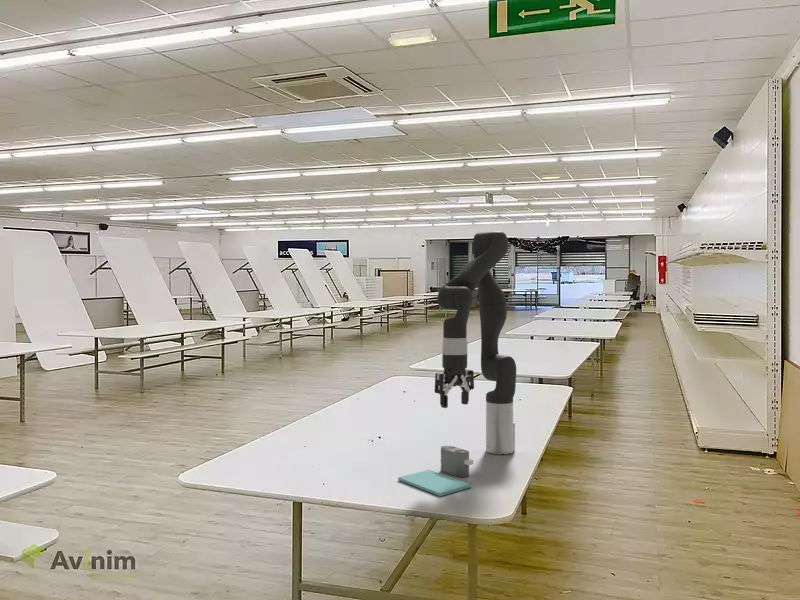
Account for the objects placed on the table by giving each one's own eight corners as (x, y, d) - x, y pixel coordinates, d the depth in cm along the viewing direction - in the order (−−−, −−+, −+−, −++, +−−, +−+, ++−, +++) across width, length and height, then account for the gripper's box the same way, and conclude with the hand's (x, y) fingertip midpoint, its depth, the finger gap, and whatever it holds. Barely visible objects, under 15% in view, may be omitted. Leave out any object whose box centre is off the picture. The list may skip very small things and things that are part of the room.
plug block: (448, 467, 194) (448, 445, 193) (476, 476, 184) (476, 453, 184) (437, 469, 191) (437, 447, 191) (465, 479, 181) (465, 455, 181)
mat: (429, 472, 188) (429, 469, 188) (471, 487, 174) (471, 484, 174) (398, 480, 181) (398, 477, 181) (440, 496, 167) (440, 493, 167)
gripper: (462, 350, 195) (462, 401, 195) (428, 353, 186) (428, 406, 186) (480, 352, 189) (480, 405, 189) (446, 355, 180) (445, 410, 180)
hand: (454, 405), depth 188 cm, fingers open, 8 cm apart
